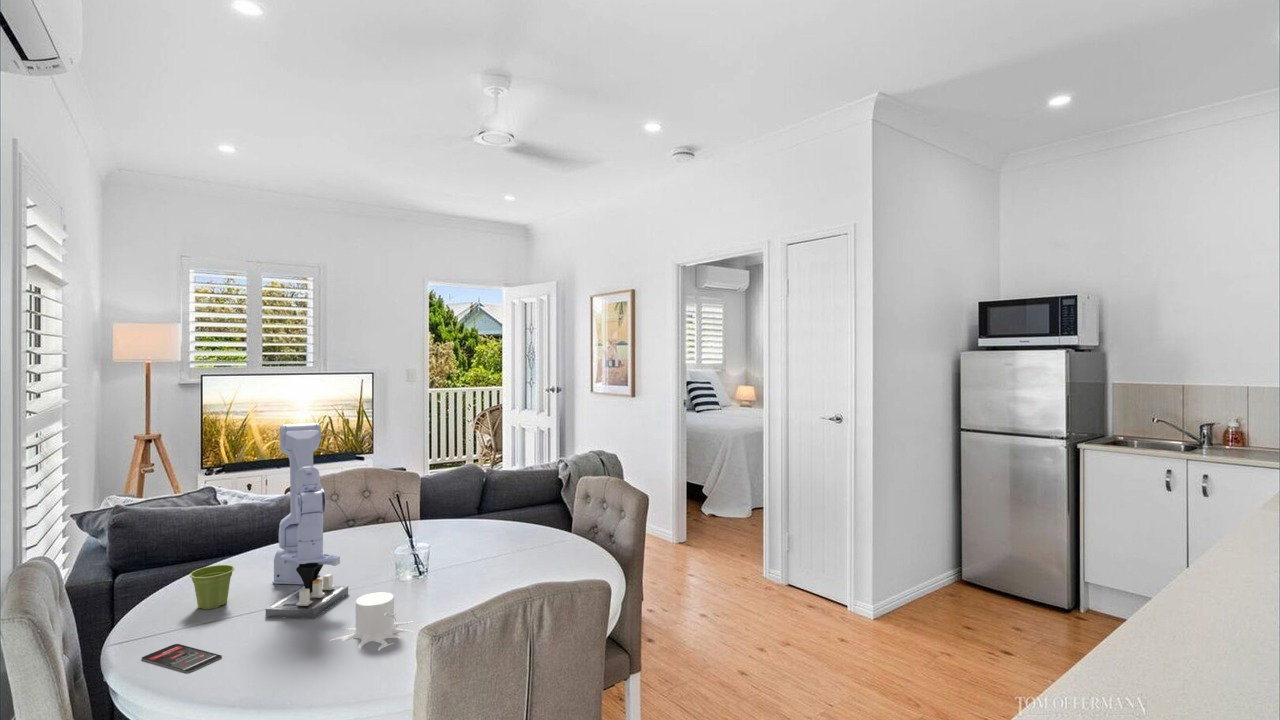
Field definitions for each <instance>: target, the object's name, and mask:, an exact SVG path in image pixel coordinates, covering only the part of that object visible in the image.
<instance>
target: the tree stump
mask: <svg viewBox="0 0 1280 720" xmlns="http://www.w3.org/2000/svg"><path fill="white" fill-rule="evenodd" d="M396 614H397V613H395V595H394V594H393V593H391V592H384V591H383V592H380V591H378V592H371V593H370V592H369V593H367V594H363V595H361V596H359V597H358V598H356V599H355V627H352V628H351V627H348V629H350V630H351V631H350V632H352V631H354V632H353V633H351V634H348V635H343V636H338V637H334V638H331V639H330V640H328V642H332V641H336V639H338V640H340V639H341V642H342V641H344V642H346V641H348V640H353V639H352V638H359V639H358V640H361V641H360V642H359V644H358V649H359V650H361V649H362V647H363V646H364V645H365V644H368V643H369V642H376V643H379V644H381V645H380V646H379V647H378V648H377V651H378V652H380V650H381V649H384V648H385V647H388V646H390V645H393V644H394V642H392V643H388V642H387V641H386V640H385V639H390V638H392V639H393V638H395V639H401V636H398V635H395V634H398V633H405V632H406V633H414V632H413V630H409V629H402V628H398V627H399V625H400V626H402V625H401V624H403V625H408V623H409V624H411V623H410V622H413V621H407V622H397V619H396ZM406 623H407V624H406ZM413 623H414V622H413ZM396 626H397V627H396ZM404 631H405V632H404ZM408 631H409V632H408ZM410 631H411V632H410ZM345 640H346V641H345Z"/></svg>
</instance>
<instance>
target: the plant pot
mask: <svg viewBox="0 0 1280 720" xmlns="http://www.w3.org/2000/svg"><path fill="white" fill-rule="evenodd" d="M234 570H235V566H233V565H231V564H216V565H211V566H206V567H205V566H204V567H201V568H198V569H195V570H193V571H192V572H190V573H189V577H190V578H191V581H192V583H193V586H194V590H195V591H194V592H195V596H196V604H197V608H198V609H203V610H210V609H216V608H219V607H221V606H225V605H226V604H227V603H228V598H229V591H230V584H231V577H232V575H233V572H234Z"/></svg>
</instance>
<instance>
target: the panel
mask: <svg viewBox="0 0 1280 720" xmlns="http://www.w3.org/2000/svg"><path fill="white" fill-rule="evenodd" d="M322 587H323V585H322ZM302 589H305V586H304V585H302V586H300V587H299V588H297V589H296V590H293V592H291V593H289V594H287V595H286V596H284V597H283V598H281V599H279V600H278V601H276V602H274V603H273V604H271V605H270V606H268V607H266V608H265V618H274V617H286V618H285V619H302V618H314V619H316V618H317V617H318V616H320V615H321V614H323V613H324V612H325V611H326V609H327V608H328V607H329V608H330V606H331V605H332V606H334V605H335V604H336V603H338V602H339V601H341V600H342V599H343V598H344V597H343V596H345V595H346V594H347V595H349V586H347V585H345V586H343V585H335V587H334V588H333V589H331V590H322V593H325V595H324V596H322V597H321V598H315V597H310V601H313V602H312V603H311V604H309V605H308V606H299V605H296V604H297V603H298V602H299V591H301V590H302ZM312 594H313V592H311V593H310V595H312ZM347 595H346V596H347ZM346 596H345V597H346ZM342 597H343V598H342ZM341 598H342V599H341ZM338 600H339V601H338ZM337 601H338V602H337ZM335 602H336V603H335ZM334 603H335V604H334ZM333 604H334V605H333ZM332 606H331V607H332ZM329 608H328V609H329ZM328 609H327V610H328ZM323 611H324V612H323ZM322 612H323V613H322ZM319 614H320V615H319ZM315 617H316V618H315Z"/></svg>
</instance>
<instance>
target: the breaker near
mask: <svg viewBox="0 0 1280 720" xmlns="http://www.w3.org/2000/svg"><path fill="white" fill-rule="evenodd" d="M312 602H313V601H310V589H302V590H301V591H299V602H298V603H297V604H296V605H299V606H308V605H309V604H311V603H312Z"/></svg>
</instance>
